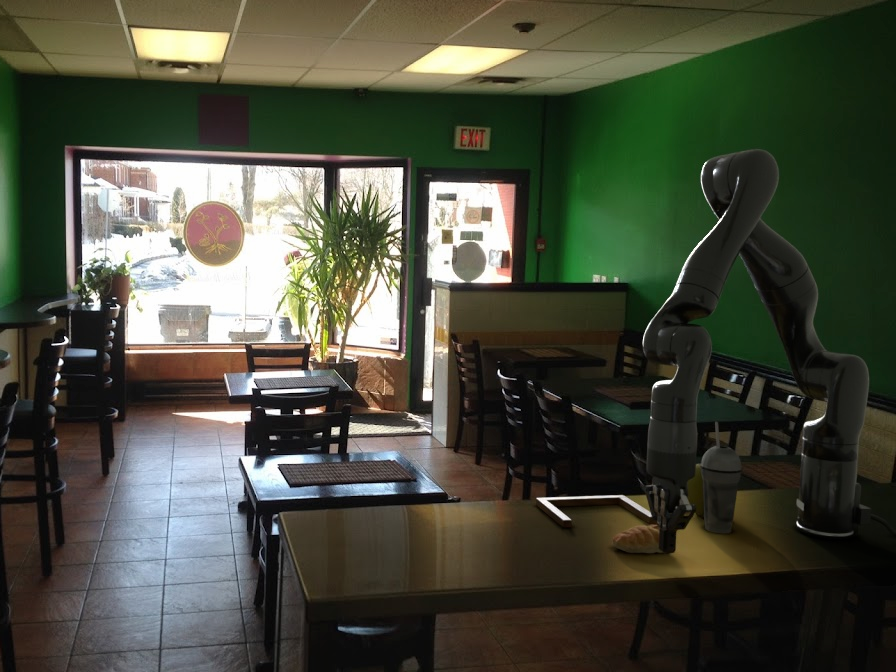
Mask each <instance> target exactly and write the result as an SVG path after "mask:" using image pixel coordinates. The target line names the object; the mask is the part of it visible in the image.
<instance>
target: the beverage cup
mask: <svg viewBox="0 0 896 672" xmlns="http://www.w3.org/2000/svg"><path fill="white" fill-rule="evenodd" d="M714 427H715V441H716V445H714V446H712V447H710V448H708V449H707V451H705V453H704V454H703V456H702V458H701V462H700V464H701V465H700V467H701V474H702V478H703V498H704V516H703V518H704V529H705V530H706V531H708V532H712V533H715V534H729V533H731V532H732V527H733V522H734V516H735V510H736V509H735V508H736V502H737V496H738V488H739V482H740V480H741V476H742V472H743V467H742V462H741V461H742V460H741V458H740V456H739V455H738V453H737V452H736V451H735V450H734V449H733V448H731V447H730V446H726V445H720V443H721V442H720V429H719V421H715V422H714Z"/></svg>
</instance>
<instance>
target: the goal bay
mask: <svg viewBox="0 0 896 672" xmlns="http://www.w3.org/2000/svg"><path fill="white" fill-rule="evenodd" d="M574 499H578V500H574ZM555 500H558V501H555ZM535 505H536V506H537V507H538V508H539V509H540V510H542V512H544V513H545V514H546V515H548V516H549V517H550V518H551V519H553V521H555V522H556V523H557V524H559V526H561V527H562V528H572V526H573V525H572V522H573V520H572V519H571V518H570V517H569V516H567V514H565V513H564V512H562V511H561V509H558V508H557V507H572V506H573V507H576V506H578V507H579V506H605V505H620V506H621V507H623V508H624V509H625V510H627V511H629V512H631V513H632V514H633V515H635V516H637V517H638V518H640V519H641V520H643V521H644V522H646V523H647V524H649V525H651V524H652V525H657V520H653V519H652V515H651V512H650V510H648V509H646V508H644V507H643V506H641V505H640V504H639V503H636V502H634V501H633V500H632V499H630V498H628V497H627V496H625V495H624V494H617V495H615V494H614V495H613V494H612V495H585V496H555V497H536V498H535Z"/></svg>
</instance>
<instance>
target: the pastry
mask: <svg viewBox="0 0 896 672" xmlns="http://www.w3.org/2000/svg"><path fill="white" fill-rule="evenodd" d="M659 530H660V527H658V526H657V524H649V525H634V526H632V527H630V528H628V529H626V530H622V531H620V532H619V533H617V534H614V535H613V538H612V541H611V546H613V547H614V548H616V549H619V550H621V551H623V552H626V553H630V554H634V553H637V554H655V553H659V554H663V553H664V552H662V551H661V550H660V549H659Z"/></svg>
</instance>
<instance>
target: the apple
mask: <svg viewBox="0 0 896 672" xmlns="http://www.w3.org/2000/svg"><path fill="white" fill-rule="evenodd" d="M700 465H701V463H696V470H695V476H694V477H693V478H692V479H689V480H688V481H687V487H688V497H687V499H688V501H689V503H690V504H695V505H696V512H695V515H697V516H700V517H704V498H703V478H702V474H701V467H700Z"/></svg>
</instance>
